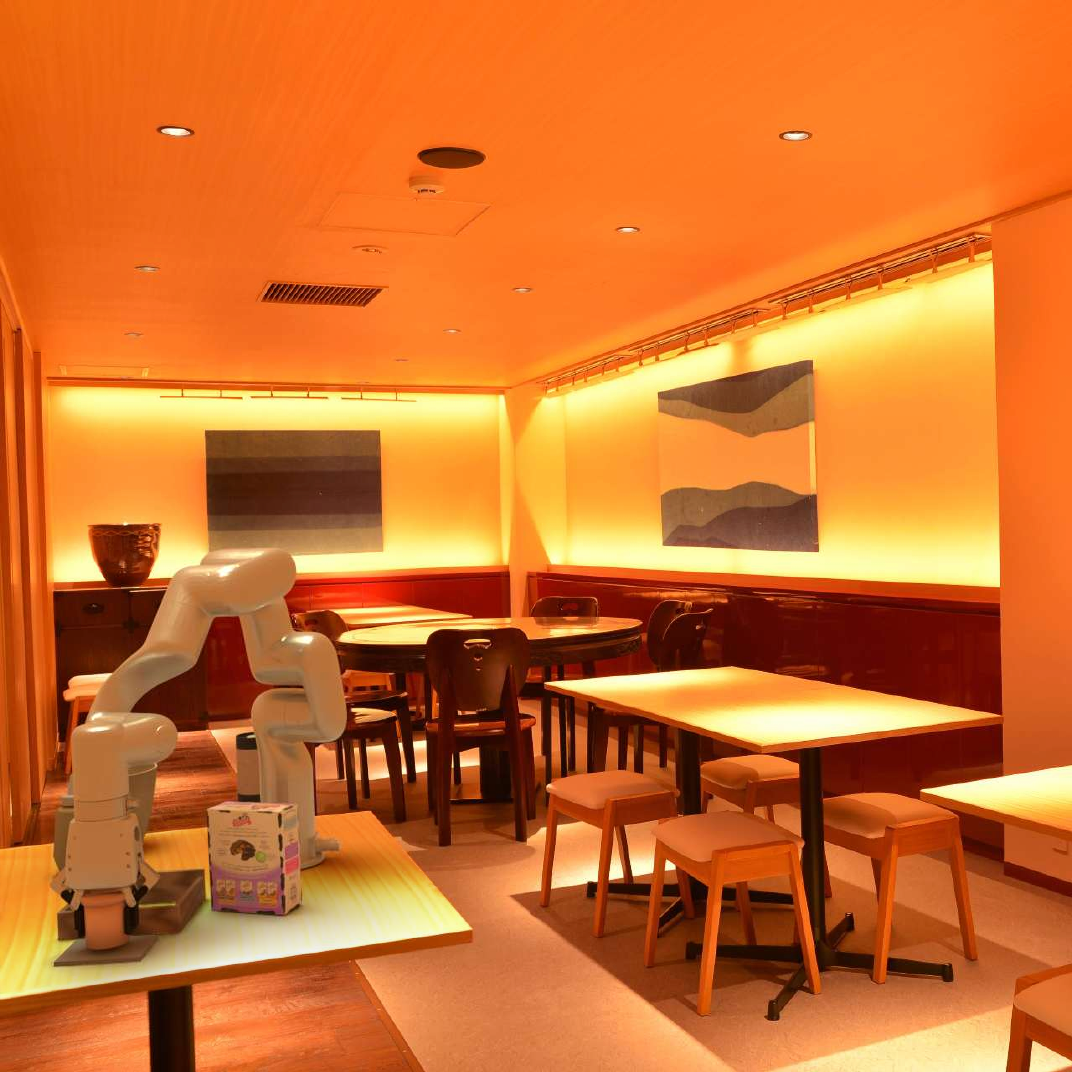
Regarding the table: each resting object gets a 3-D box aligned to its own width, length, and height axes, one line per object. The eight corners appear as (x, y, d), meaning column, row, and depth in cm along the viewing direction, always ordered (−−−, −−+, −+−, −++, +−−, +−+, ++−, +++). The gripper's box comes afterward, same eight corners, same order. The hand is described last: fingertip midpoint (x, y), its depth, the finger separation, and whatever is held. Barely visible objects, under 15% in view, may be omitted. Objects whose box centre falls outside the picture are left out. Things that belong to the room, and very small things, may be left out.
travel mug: (242, 829, 229) (238, 732, 229) (280, 827, 230) (276, 730, 230) (236, 839, 222) (231, 738, 222) (275, 837, 222) (271, 736, 222)
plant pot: (78, 847, 221) (75, 766, 221) (158, 837, 226) (154, 758, 226) (78, 867, 207) (74, 780, 207) (163, 855, 213) (159, 771, 213)
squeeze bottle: (110, 866, 206) (106, 769, 206) (88, 880, 198) (84, 778, 198) (68, 867, 207) (64, 770, 207) (44, 880, 199) (40, 779, 199)
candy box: (304, 904, 180) (299, 802, 180) (284, 917, 174) (280, 811, 174) (230, 899, 184) (226, 799, 184) (209, 910, 179) (204, 807, 179)
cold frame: (205, 898, 185) (204, 868, 185) (179, 932, 169) (178, 899, 169) (95, 905, 184) (93, 874, 184) (58, 939, 168) (56, 906, 168)
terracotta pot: (138, 932, 166) (136, 883, 166) (124, 949, 159) (121, 898, 159) (92, 934, 165) (90, 886, 165) (75, 951, 159) (73, 901, 159)
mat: (158, 938, 167) (158, 934, 167) (140, 961, 158) (140, 957, 158) (76, 943, 166) (76, 939, 166) (53, 966, 157) (53, 962, 157)
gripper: (169, 799, 166) (175, 920, 166) (51, 805, 165) (56, 927, 166) (155, 811, 159) (160, 938, 159) (30, 818, 158) (36, 946, 158)
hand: (107, 931), depth 162 cm, fingers closed on terracotta pot, 6 cm apart
